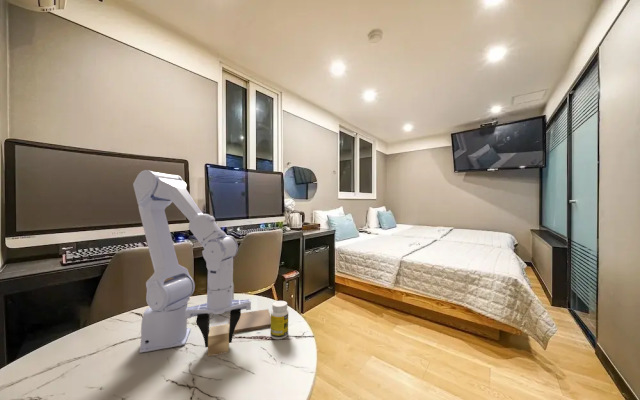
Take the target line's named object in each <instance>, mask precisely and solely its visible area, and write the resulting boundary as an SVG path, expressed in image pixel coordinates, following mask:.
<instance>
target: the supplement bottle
mask: <svg viewBox="0 0 640 400" xmlns="http://www.w3.org/2000/svg"><path fill="white" fill-rule="evenodd" d="M271 305H272V307H271V309H272V310H271V312H270V316H271V327H270V337H271V339H273V340H283V339H286V338H287V337H288V335H289V309H288V302H287V301H284V300H277V301H274V302H273V303H272V304H271Z"/></svg>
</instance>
